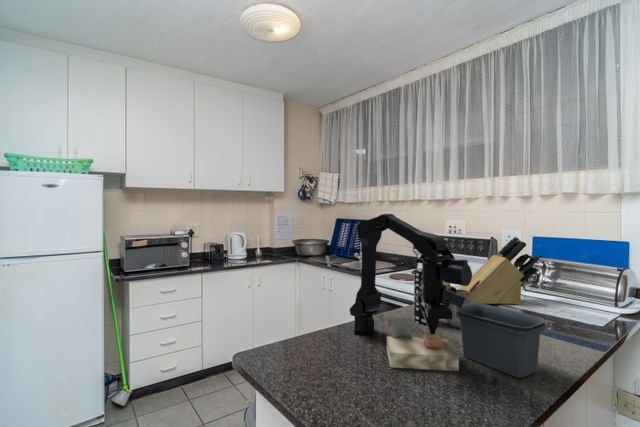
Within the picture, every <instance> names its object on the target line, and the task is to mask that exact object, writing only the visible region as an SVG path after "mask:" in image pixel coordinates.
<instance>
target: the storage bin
mask: <svg viewBox="0 0 640 427" xmlns="http://www.w3.org/2000/svg"><path fill="white" fill-rule="evenodd" d="M455 310H456V311H457V312H456V316H457V317H458V318H460V324H461V328H460V332H461V344H462V352H463V356H464V357H465V358H467V359H469V360H472V361H474V362H476V363H478V364H481V365H484V366H487V367H489V368H492V369H494V370H496V371H500V372H502V373H504V374H506V375H510V376H512V377H515V378H517V379H524V378H526V377H528V376H531V375H532V374H533V373H535V372H537V370H538V361H539V360H538V359H539V349H540V339H541V332H542V331H545V330H546V324H545V323H547V321H548V320H547V319H545V318H543V317H540V316H536V315H532V314H529V313H523V312H520V311H516V310H510V309H508V308H502V307H499V306H493V305H491V304H480V303H472V304H467V305H463V306H462V308H459V307H455Z"/></svg>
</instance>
